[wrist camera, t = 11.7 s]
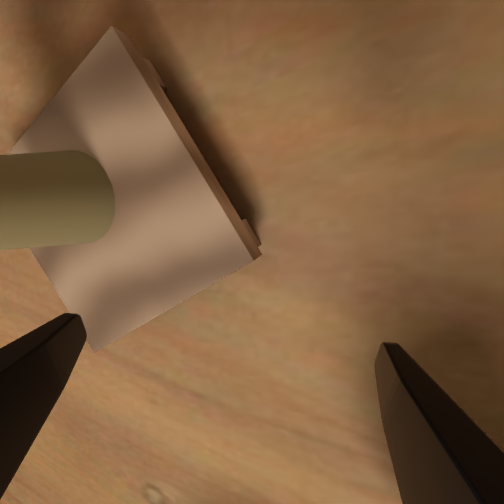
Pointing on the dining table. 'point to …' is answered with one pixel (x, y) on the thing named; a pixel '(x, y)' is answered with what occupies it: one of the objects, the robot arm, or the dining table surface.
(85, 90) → the tan square slab
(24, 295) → the dining table surface
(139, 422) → the dining table surface
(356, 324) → the dining table surface
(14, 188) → the olive game pawn
